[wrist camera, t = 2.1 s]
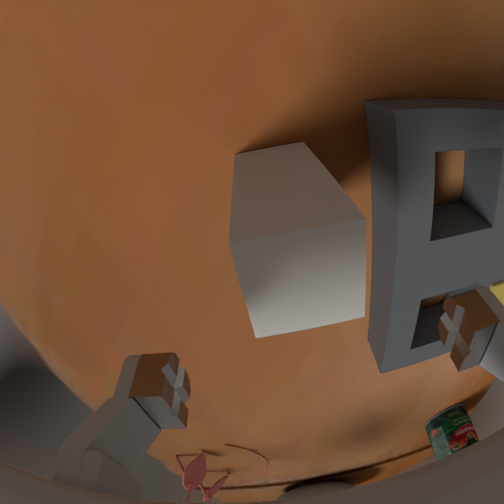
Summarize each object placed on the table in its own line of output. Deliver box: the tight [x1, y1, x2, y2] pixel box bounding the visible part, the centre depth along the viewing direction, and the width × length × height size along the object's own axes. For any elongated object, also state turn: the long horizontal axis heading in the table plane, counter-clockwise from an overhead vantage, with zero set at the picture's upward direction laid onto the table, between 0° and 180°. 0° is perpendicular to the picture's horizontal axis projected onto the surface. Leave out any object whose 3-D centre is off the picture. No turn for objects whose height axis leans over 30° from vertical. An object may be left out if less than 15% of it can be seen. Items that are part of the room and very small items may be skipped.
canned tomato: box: [425, 404, 479, 460], centre depth 35 cm, size 8×8×11 cm
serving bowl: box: [276, 482, 355, 500], centre depth 52 cm, size 21×21×7 cm
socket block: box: [364, 98, 504, 373], centre depth 19 cm, size 20×14×4 cm
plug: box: [229, 142, 366, 338], centre depth 14 cm, size 4×4×10 cm
